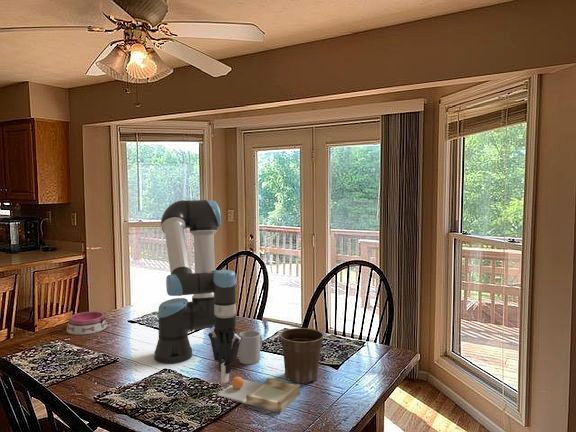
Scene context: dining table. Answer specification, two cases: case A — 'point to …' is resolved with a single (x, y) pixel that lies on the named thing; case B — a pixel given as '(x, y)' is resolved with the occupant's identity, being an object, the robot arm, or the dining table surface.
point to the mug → (250, 347)
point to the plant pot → (301, 354)
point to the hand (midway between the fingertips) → (225, 381)
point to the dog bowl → (86, 323)
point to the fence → (272, 404)
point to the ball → (237, 382)
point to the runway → (253, 392)
